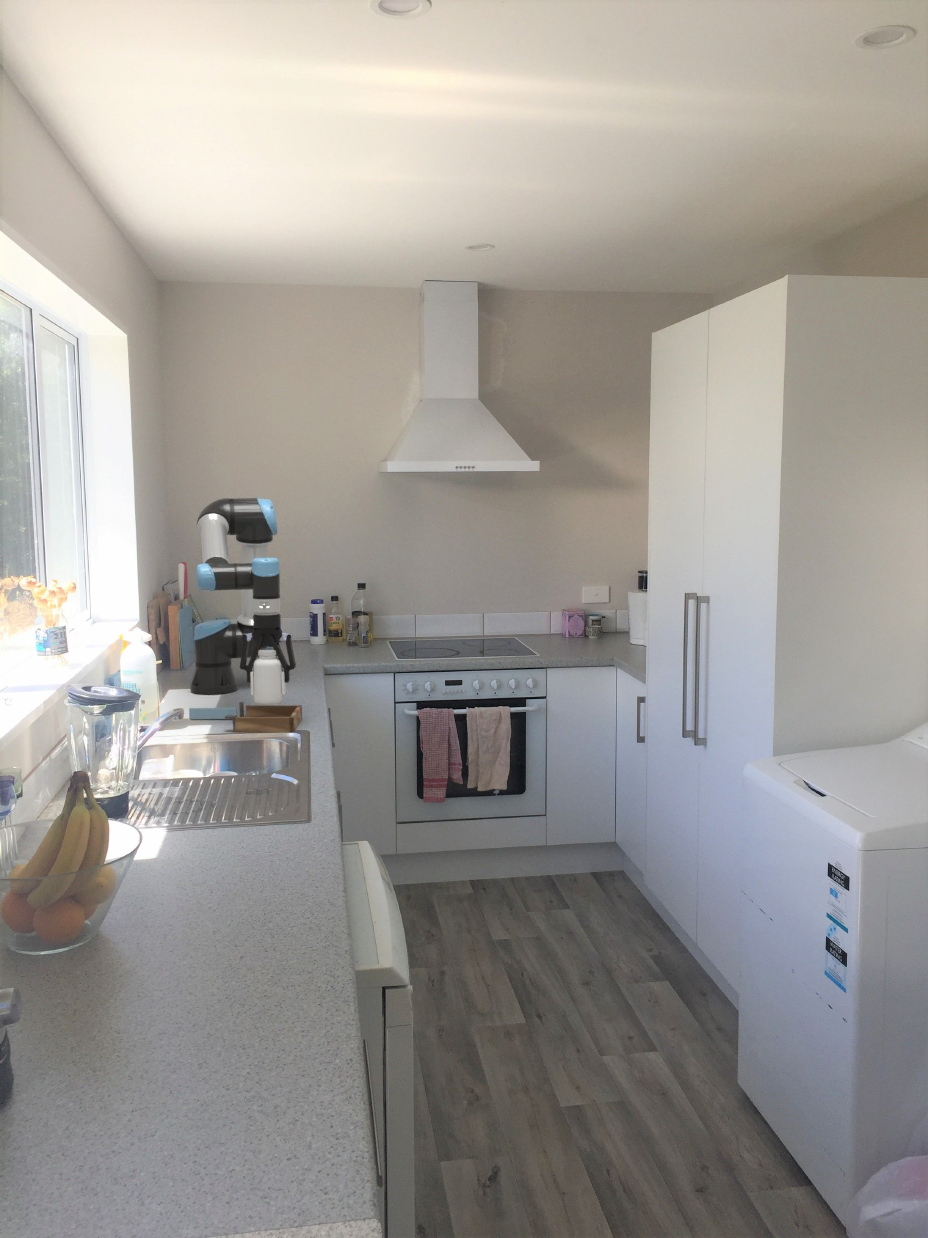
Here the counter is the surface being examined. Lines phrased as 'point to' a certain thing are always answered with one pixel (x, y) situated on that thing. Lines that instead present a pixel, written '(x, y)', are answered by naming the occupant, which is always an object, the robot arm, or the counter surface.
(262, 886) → the counter surface
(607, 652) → the counter surface
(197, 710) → the gate
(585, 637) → the counter surface
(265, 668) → the pill bottle
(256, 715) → the tray
